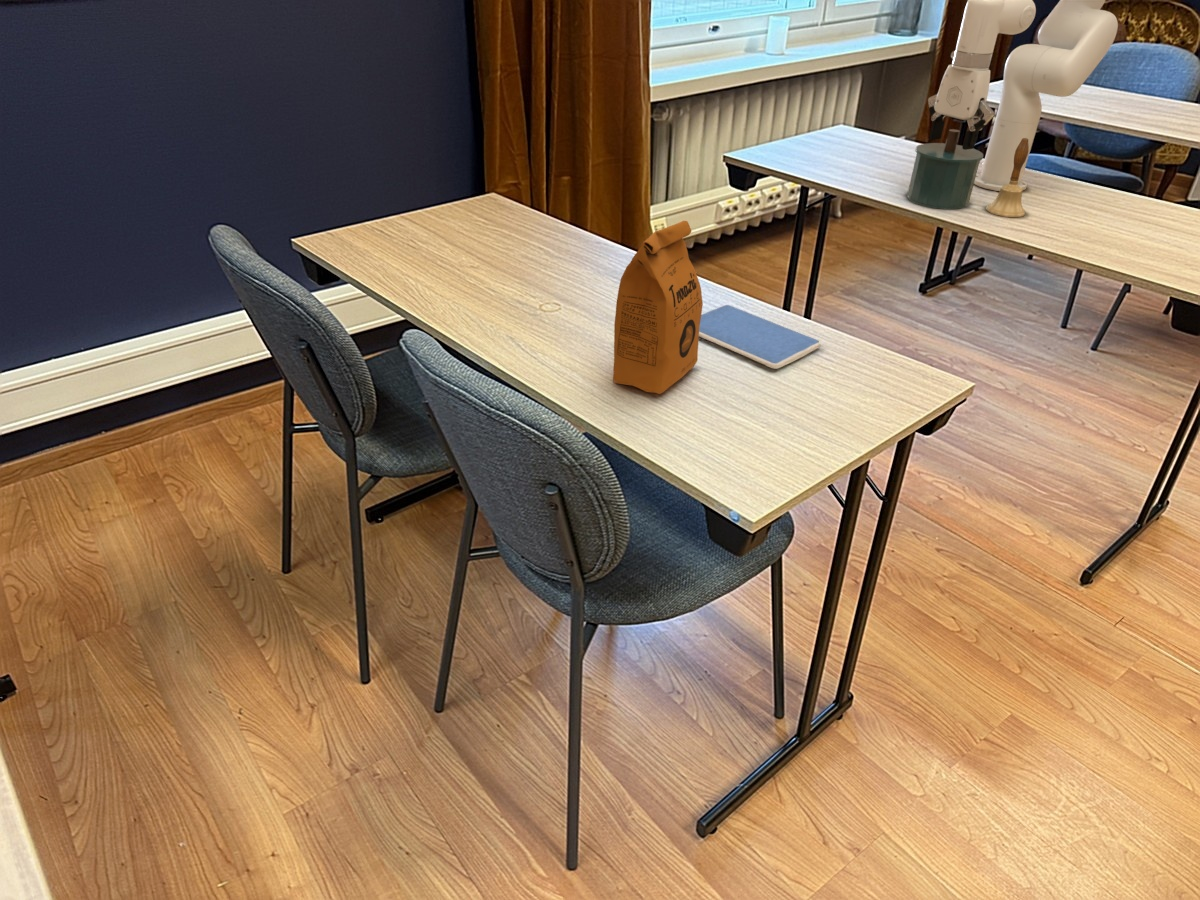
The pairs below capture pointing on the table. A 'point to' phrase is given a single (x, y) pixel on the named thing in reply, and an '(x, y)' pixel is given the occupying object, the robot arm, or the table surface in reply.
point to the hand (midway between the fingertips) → (951, 143)
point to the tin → (941, 183)
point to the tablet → (755, 336)
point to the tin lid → (949, 150)
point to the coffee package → (657, 313)
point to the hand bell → (1011, 188)
